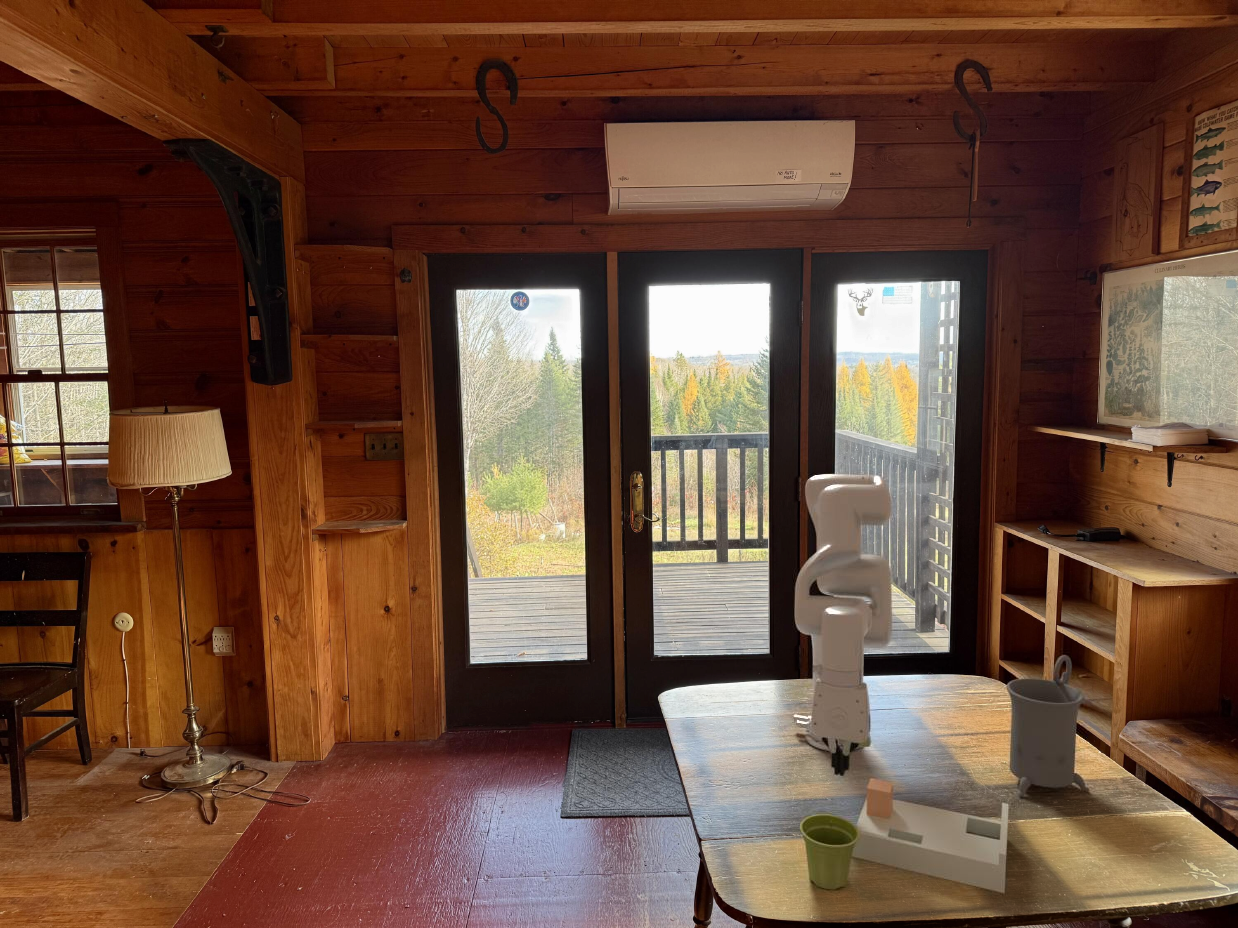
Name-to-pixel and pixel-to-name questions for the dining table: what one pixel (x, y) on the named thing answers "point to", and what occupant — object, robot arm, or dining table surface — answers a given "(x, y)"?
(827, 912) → the dining table surface
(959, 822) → the tray
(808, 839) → the plant pot
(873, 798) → the block
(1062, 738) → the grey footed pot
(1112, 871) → the dining table surface
